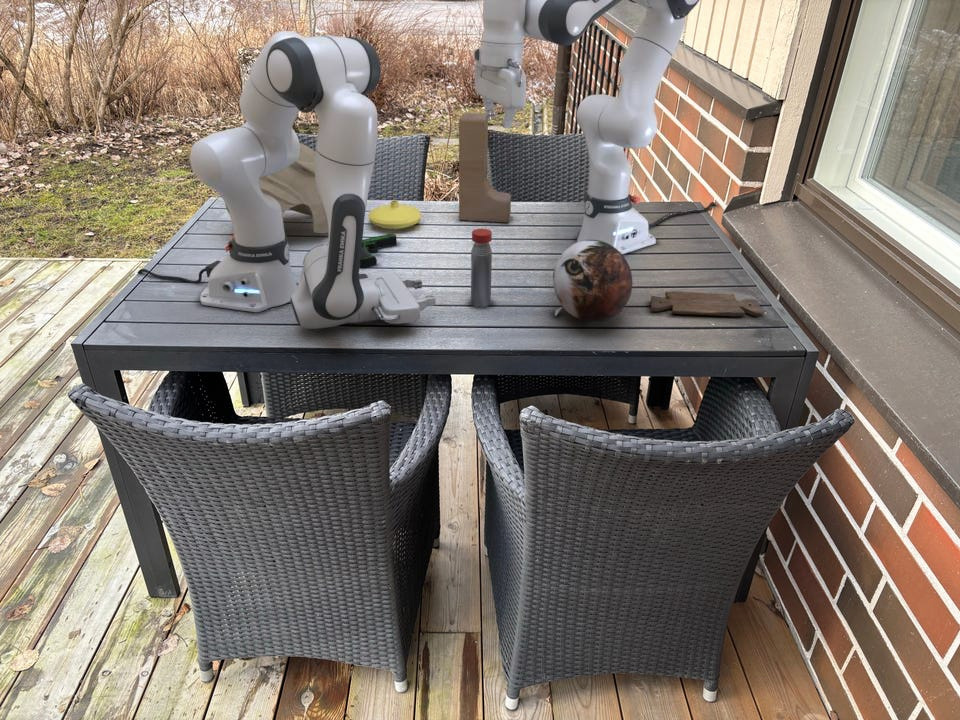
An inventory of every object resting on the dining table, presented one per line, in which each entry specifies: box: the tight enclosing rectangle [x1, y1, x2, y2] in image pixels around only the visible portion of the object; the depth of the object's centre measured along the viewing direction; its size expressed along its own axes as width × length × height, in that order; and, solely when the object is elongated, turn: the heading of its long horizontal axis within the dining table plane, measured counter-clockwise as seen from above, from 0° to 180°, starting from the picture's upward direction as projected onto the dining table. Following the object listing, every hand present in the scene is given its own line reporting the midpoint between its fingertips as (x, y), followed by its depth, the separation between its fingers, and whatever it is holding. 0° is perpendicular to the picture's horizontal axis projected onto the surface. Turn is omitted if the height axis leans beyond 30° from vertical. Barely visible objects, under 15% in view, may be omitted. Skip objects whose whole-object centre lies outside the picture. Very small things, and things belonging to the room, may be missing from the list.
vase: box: [367, 199, 423, 230], centre depth 210 cm, size 16×16×7 cm
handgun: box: [360, 233, 398, 268], centre depth 192 cm, size 16×3×15 cm
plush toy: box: [552, 240, 633, 323], centre depth 159 cm, size 22×18×20 cm
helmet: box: [224, 123, 329, 234], centre depth 198 cm, size 27×30×30 cm
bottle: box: [470, 242, 493, 309], centre depth 163 cm, size 5×5×17 cm
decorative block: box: [458, 112, 512, 224], centre depth 210 cm, size 8×15×30 cm, turn 82°
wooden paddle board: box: [650, 291, 765, 317], centre depth 167 cm, size 26×2×10 cm
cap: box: [471, 228, 493, 243], centre depth 159 cm, size 4×4×2 cm
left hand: (427, 291), depth 161 cm, fingers open, 8 cm apart
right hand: (498, 123), depth 159 cm, fingers open, 8 cm apart
